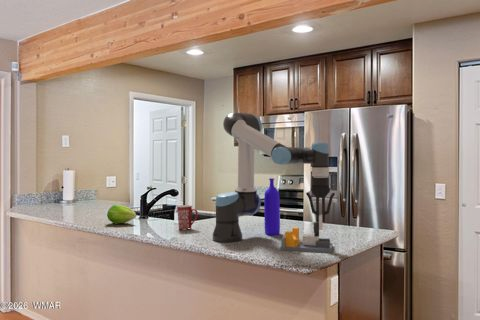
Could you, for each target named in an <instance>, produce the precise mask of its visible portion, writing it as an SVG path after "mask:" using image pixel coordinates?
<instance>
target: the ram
mask: <svg viewBox="0 0 480 320" xmlns="http://www.w3.org/2000/svg"><path fill="white" fill-rule="evenodd" d="M319 238H320V230H319V222H317V221H314V222H313V234H310V233H309V234H308V233H307V234H303V235H302V242H303V245H312V246H316V241H319Z"/></svg>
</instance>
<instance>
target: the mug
mask: <svg viewBox="0 0 480 320" xmlns="http://www.w3.org/2000/svg"><path fill="white" fill-rule="evenodd" d="M176 209H177V222H178V223H177V224H178V230H180V229H188V228H191V229H192V226H193V224H194V223H195V221H196V220H197V218H198V216H199V215H198V210H197V208H193V205H190V204H185V205H177V206H176ZM193 212H195V217H194V219H193V218H192V217H193V216H192V214H193ZM192 219H193V220H192Z"/></svg>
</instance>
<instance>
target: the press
mask: <svg viewBox="0 0 480 320" xmlns="http://www.w3.org/2000/svg"><path fill="white" fill-rule="evenodd" d="M280 241H281V246H280V251H285V252H286V251H291V252H311V253H329V254H330V253H333V242H331V239H330V238H323V237H321V238H320V237H319V241H316V246H312V245H303V241H300V240H299V245H297V246H296V247H287V246H285V233H283V235H282V236H281V240H280Z"/></svg>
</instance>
